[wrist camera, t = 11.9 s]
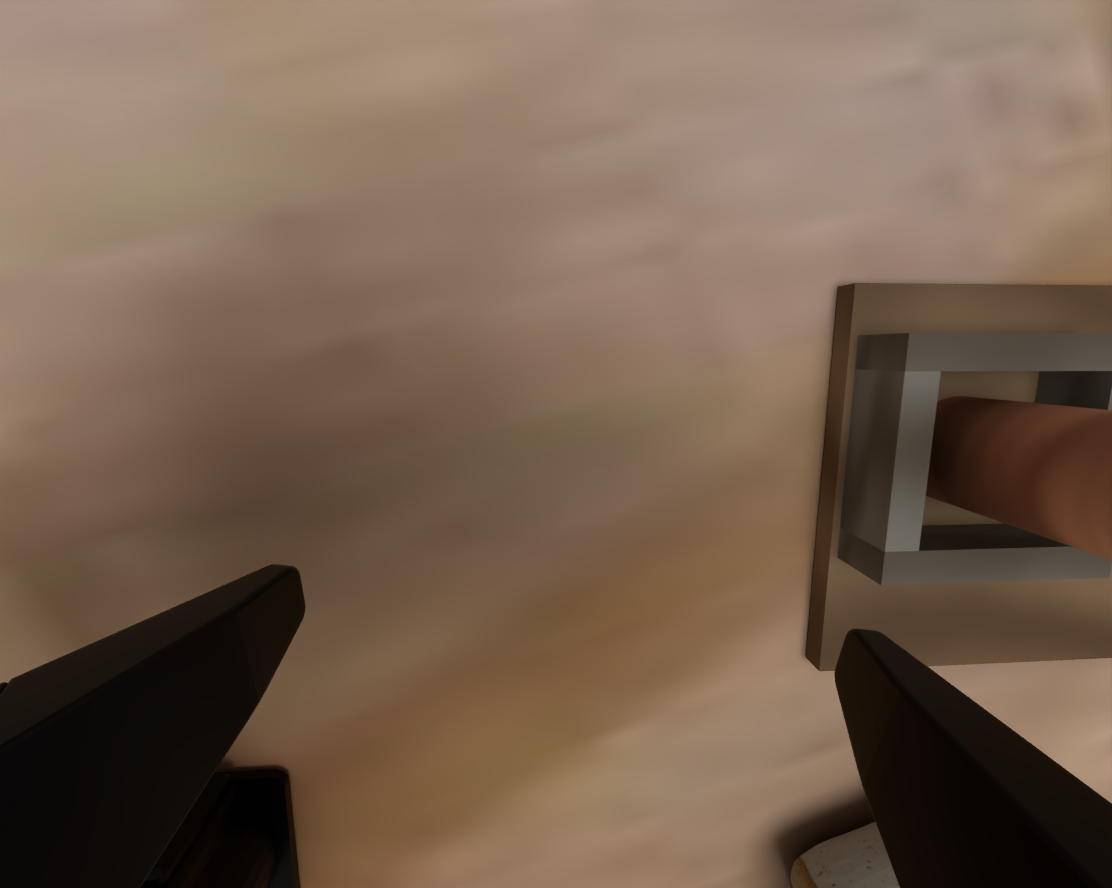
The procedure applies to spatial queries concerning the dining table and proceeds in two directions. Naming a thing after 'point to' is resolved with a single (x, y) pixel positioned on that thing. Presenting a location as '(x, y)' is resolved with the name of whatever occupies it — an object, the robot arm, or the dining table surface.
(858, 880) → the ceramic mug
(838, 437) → the socket board
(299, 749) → the dining table surface
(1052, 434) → the peg
